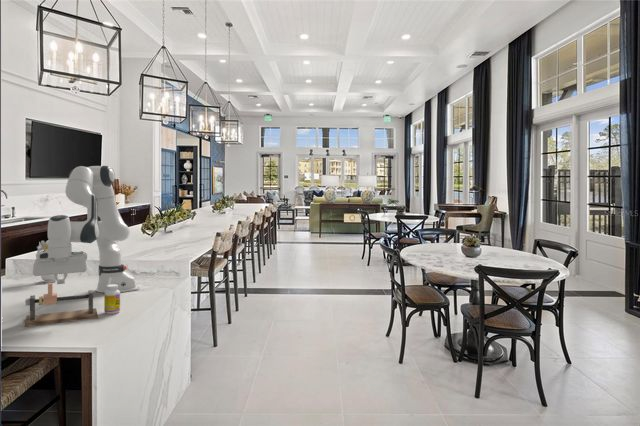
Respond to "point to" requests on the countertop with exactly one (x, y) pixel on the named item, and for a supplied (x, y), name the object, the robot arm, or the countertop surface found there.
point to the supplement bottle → (112, 299)
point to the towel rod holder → (60, 314)
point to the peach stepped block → (50, 296)
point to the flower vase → (46, 277)
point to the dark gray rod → (57, 299)
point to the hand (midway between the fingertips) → (60, 283)
